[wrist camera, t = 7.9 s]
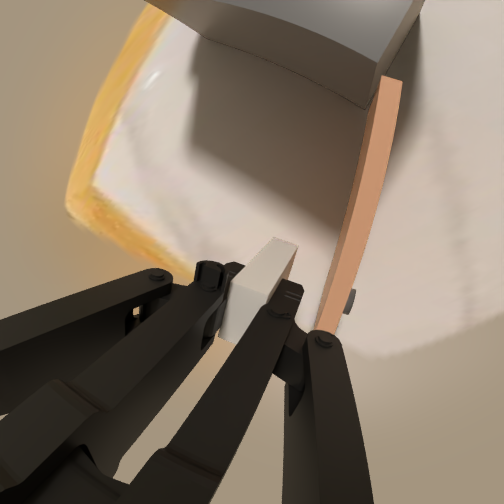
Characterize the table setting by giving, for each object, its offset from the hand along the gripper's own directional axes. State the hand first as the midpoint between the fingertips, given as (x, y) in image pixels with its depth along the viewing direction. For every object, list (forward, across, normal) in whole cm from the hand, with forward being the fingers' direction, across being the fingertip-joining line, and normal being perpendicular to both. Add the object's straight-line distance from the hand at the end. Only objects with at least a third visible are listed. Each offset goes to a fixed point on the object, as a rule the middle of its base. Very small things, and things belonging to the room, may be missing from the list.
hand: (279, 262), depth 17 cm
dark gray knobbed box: (+9, -5, +20) cm, 22 cm away
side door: (+8, +4, +4) cm, 9 cm away
